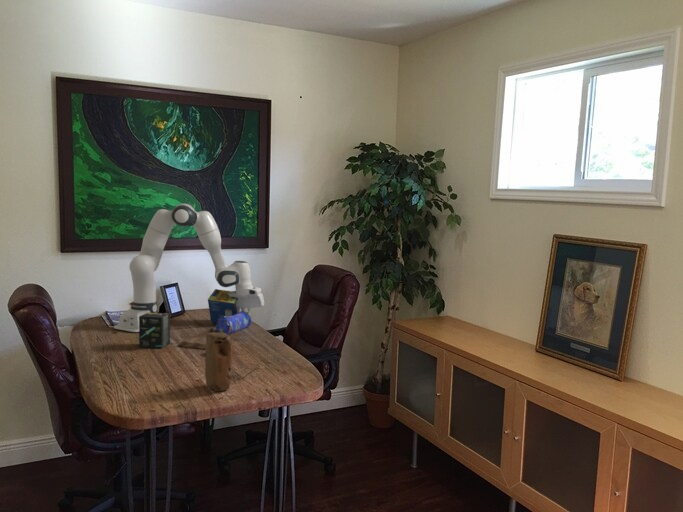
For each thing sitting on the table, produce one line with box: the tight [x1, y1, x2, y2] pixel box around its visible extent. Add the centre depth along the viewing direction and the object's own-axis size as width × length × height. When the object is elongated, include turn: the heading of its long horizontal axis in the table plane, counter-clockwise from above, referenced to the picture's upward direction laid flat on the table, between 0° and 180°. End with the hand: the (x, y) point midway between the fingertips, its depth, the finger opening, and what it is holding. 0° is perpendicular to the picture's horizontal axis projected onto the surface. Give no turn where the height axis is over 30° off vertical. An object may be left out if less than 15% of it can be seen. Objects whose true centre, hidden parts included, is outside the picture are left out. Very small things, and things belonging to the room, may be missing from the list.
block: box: [204, 331, 233, 392], centre depth 203 cm, size 11×8×20 cm
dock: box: [180, 327, 242, 350], centre depth 269 cm, size 16×29×2 cm, turn 166°
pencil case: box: [215, 311, 252, 335], centre depth 289 cm, size 22×9×10 cm, turn 156°
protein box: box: [207, 288, 242, 324], centre depth 303 cm, size 10×15×16 cm
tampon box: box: [138, 312, 171, 349], centre depth 256 cm, size 11×9×15 cm
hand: (247, 315), depth 300 cm, fingers closed
